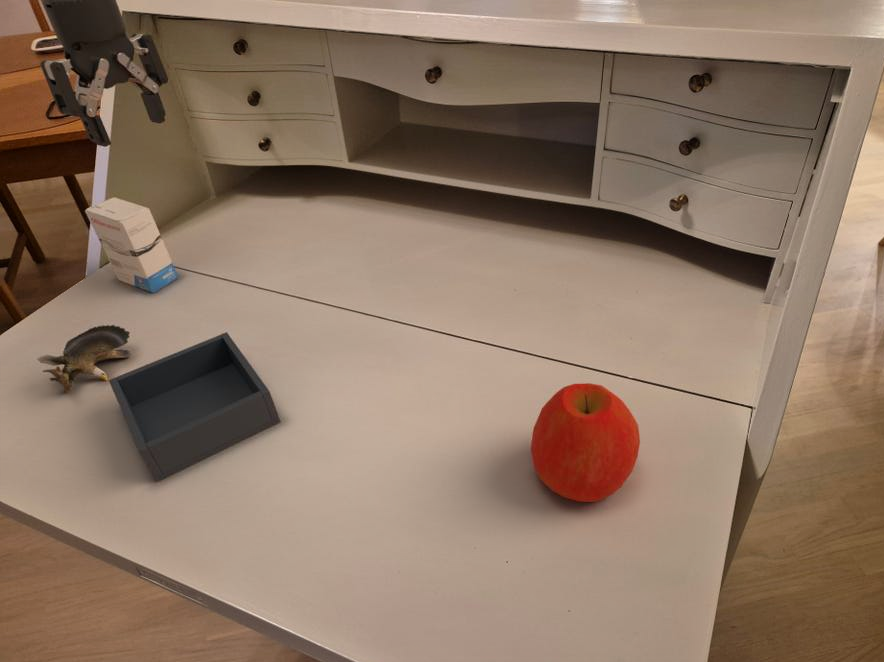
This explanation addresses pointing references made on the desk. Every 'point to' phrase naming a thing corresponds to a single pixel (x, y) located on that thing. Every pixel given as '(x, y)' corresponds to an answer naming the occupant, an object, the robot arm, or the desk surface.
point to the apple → (585, 443)
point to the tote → (193, 405)
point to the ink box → (132, 244)
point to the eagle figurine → (87, 354)
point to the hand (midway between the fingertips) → (132, 133)
